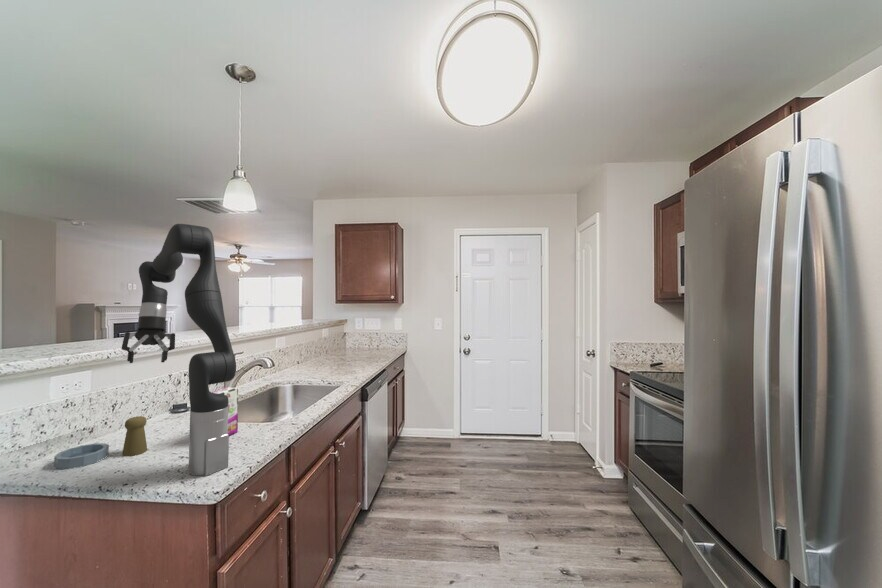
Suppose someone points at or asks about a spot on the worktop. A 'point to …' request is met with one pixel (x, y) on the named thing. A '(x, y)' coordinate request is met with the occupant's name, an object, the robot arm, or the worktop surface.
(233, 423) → the candy bar box
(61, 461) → the dish
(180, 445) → the worktop surface
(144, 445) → the cork
